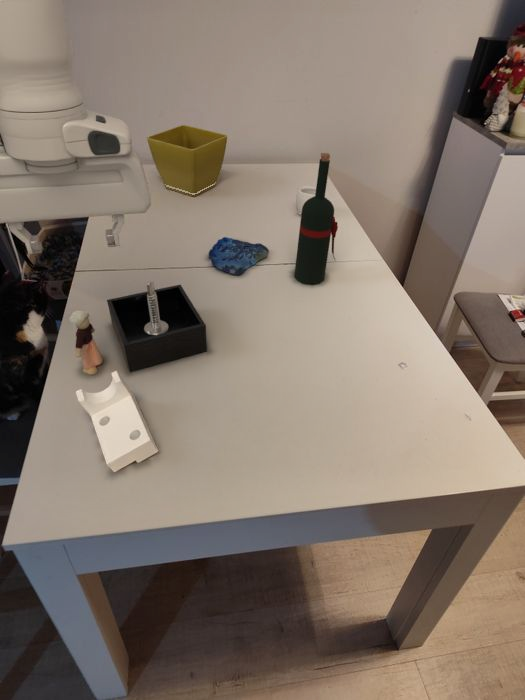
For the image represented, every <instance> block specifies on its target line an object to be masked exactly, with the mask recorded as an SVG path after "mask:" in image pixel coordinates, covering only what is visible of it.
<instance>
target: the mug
mask: <svg viewBox="0 0 525 700" xmlns="http://www.w3.org/2000/svg"><path fill="white" fill-rule="evenodd" d="M315 194H316V186H312V185H303V186H301V187H299V188H298V189H297V191H296V195H295V207H296V211H298V212H299V213H302V207H303V205H304V203H305V202H306V201H307V200H308V199H310V198H312V197H314V196H315ZM298 212H297V213H298ZM299 213H298V215H299V216H300V217H301V214H299Z"/></svg>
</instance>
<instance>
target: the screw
mask: <svg viewBox="0 0 525 700" xmlns="http://www.w3.org/2000/svg"><path fill="white" fill-rule="evenodd" d="M155 290H156V289H155V284H154V281H148V282H147V283H146V292H147V291H148V292H147V293H148V294H147V296H148V297H147V299H148V300H147V301H148V304H149V305H148V306H149V314H150V319H151V320H150V322H149V323H147V324H146V325H145V327H144V331H145V333H146V334H148V335H150V336H154V335H158V334H162V333H166V332H167V331H168V324H167V323H166V322H164V321H161V320H160V317H159V310H158V303H157V295H156V292H155Z"/></svg>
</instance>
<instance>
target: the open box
mask: <svg viewBox="0 0 525 700" xmlns="http://www.w3.org/2000/svg"><path fill="white" fill-rule="evenodd" d="M154 290H155V292H156V295H157V303H158V310H159V317H160V320H161V321H164V322H166V323H167V324H168V331H167V332H166V333H162V334H158V335H154V336H150V335H148V334H146V333H145V331H144V327H145V325H146V324H147V323H149V322H150V320H151V319H150V314H149V306H148V305H149V304H148V301H147V300H148V299H147V297H148V296H147V294H148V293H147V292H148V291H147V290H146V291H143V292H137V293H133V294H128V295H123V296H119V297H114V298H109V299H106V303H107V307H108V312H109V316H110V320H111V321H110V322H111V325H112V328H113V331H114V334H115V337H116V340H117V342H118V345H119V348H120V351H121V353H122V355H123V358H124V361H125V364H126V366H127V369H128V372H129V373H134V372H138V371H141V370H145V369H149V368H152V367H156V366H161V365H163V364H166V363H171V362H174V361H179V360H182V359H185V358H186V359H187V358H189V357H193V356H196V355H200V354H203V353H207V352H208V341H207V325H206V323H205V322H204V320H203V319H202V317H201V316H200V313H199V312H198V311H197V309H196V306H194V304H193V302H192V301H191V299H190V297H189V296H188V294H187V293H186V291H185V289H184V288H183V286H182V284H175V285H172V286H167V287H161V288H157V289H154Z"/></svg>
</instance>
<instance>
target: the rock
mask: <svg viewBox="0 0 525 700" xmlns="http://www.w3.org/2000/svg"><path fill="white" fill-rule="evenodd" d="M269 252H270V250H269V248H268V247H267V246H265V245H263V244H262V243H260V242H259V243H250V242H249V241H243V240H239V239H233V238H231V237H228V236H227V237H226V236H224V237H222V238H221V239H218V240H217V242H216V243H214V244H213V245H212V247H211V249H210V250H209V252H208V258H209V259H210V261H211V265H212V266H213V267H216V268H217V269H219V270H220V271H224V272H226V273H229V274H232V275H234V276H240V275H243V274H244V273H245V272H246V271H247V269H249V268H251V267H253V265H255V264H257V262H259V261H261V260H262V259H265V258H267V256H268V254H269Z"/></svg>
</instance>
